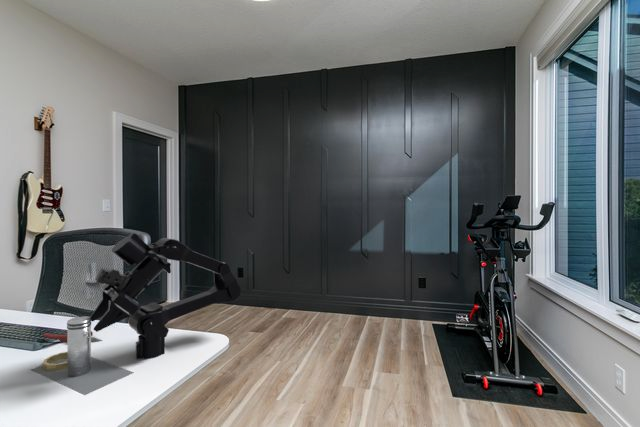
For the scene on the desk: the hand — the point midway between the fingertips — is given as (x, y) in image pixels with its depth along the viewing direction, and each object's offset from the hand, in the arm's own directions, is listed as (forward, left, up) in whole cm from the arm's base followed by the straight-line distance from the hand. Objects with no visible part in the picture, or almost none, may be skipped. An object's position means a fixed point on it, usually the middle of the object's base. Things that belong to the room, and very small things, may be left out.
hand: (92, 325), depth 81 cm
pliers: (+6, -28, -13) cm, 32 cm away
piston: (+3, 0, -11) cm, 11 cm away
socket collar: (+6, -8, -12) cm, 16 cm away
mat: (+2, 0, -12) cm, 12 cm away
